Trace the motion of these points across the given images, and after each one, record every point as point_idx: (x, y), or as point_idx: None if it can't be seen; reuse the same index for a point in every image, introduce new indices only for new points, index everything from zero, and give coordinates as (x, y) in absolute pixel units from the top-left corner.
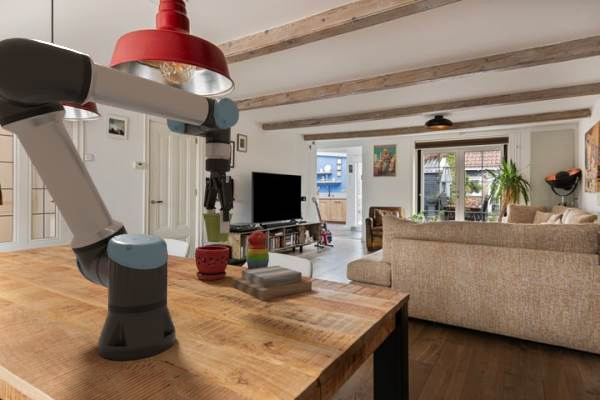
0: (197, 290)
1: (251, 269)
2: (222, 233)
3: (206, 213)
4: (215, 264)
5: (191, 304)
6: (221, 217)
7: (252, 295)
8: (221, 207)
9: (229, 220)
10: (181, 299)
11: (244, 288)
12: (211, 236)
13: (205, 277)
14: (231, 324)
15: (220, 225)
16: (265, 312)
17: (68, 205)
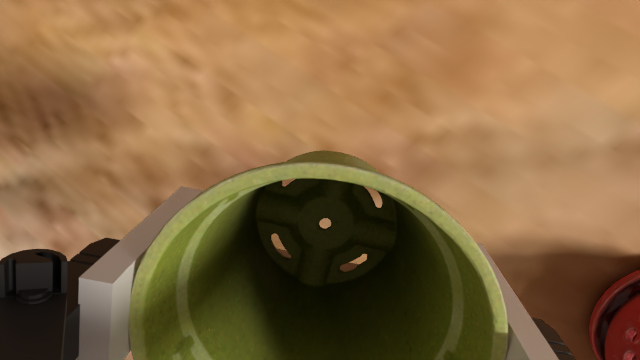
0: (519, 160)
1: None
2: (234, 229)
3: (491, 303)
4: (628, 339)
5: (368, 37)
6: (119, 246)
7: (286, 252)
8: (50, 311)
9: (206, 352)
10: (458, 44)
11: (348, 270)
12: (292, 160)
13: (630, 274)
14: (85, 16)
15: (167, 211)
16: (113, 165)
17: None
